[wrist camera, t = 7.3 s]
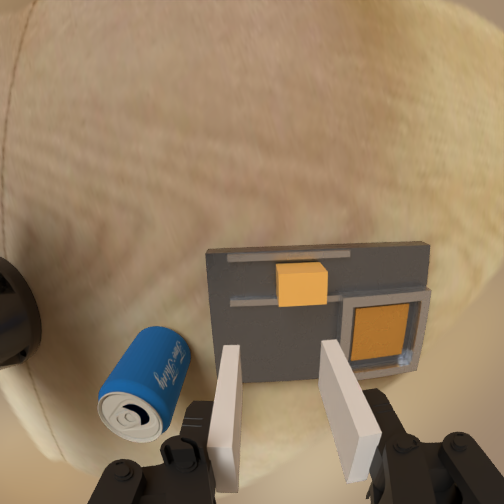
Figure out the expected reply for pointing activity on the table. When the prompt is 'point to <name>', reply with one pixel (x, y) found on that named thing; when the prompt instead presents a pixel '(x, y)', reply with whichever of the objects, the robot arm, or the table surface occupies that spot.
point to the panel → (321, 309)
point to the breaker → (301, 284)
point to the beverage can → (145, 385)
